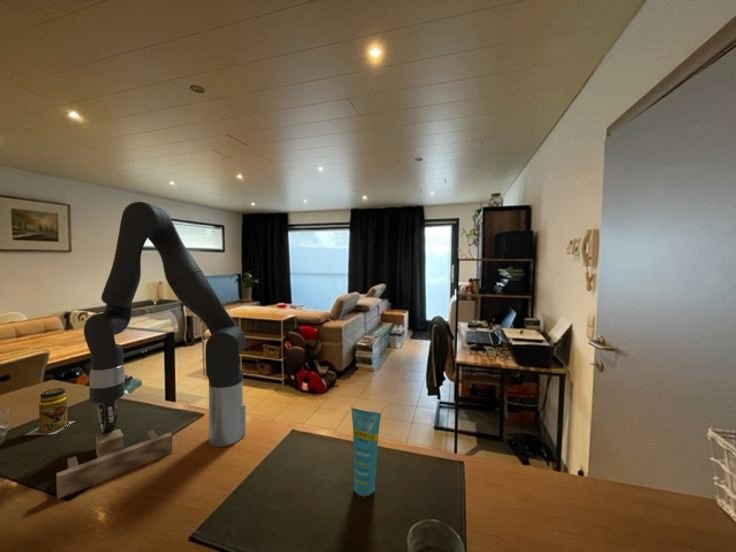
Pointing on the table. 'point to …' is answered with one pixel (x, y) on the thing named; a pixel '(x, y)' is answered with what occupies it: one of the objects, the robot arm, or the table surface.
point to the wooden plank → (111, 464)
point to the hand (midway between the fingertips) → (107, 441)
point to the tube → (365, 449)
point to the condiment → (52, 412)
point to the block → (109, 443)
